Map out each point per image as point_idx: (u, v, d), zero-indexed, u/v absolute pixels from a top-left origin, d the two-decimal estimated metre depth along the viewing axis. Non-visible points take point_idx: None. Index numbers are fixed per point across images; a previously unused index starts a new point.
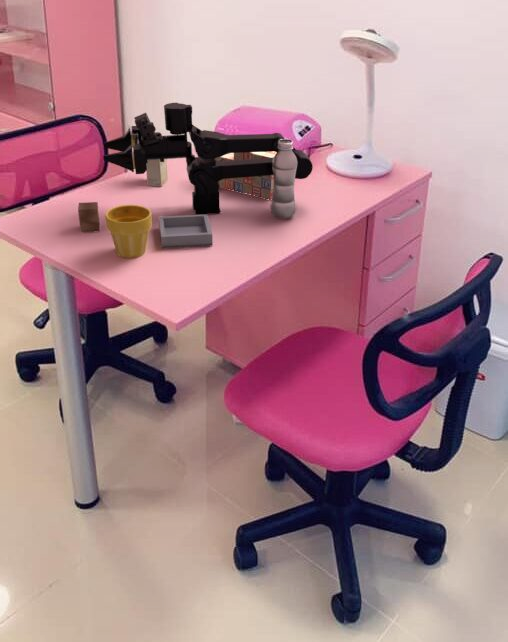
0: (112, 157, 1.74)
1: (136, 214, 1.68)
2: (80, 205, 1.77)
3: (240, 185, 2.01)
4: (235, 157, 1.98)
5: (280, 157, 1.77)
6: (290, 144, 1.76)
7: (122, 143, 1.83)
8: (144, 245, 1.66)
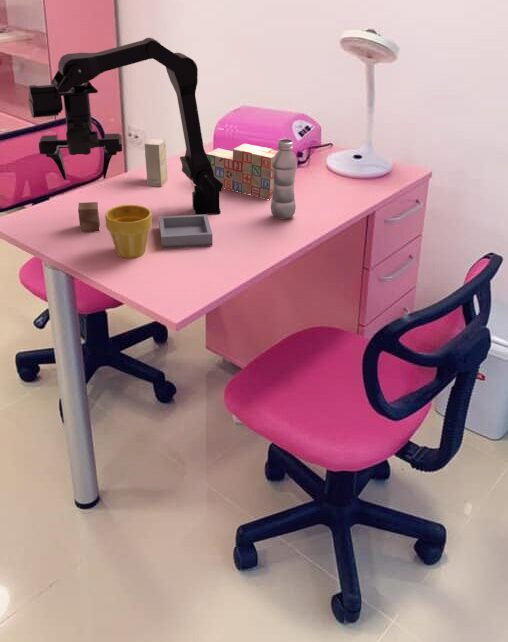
0: (106, 169, 1.73)
1: (136, 214, 1.68)
2: (80, 205, 1.77)
3: (240, 185, 2.01)
4: (234, 157, 1.98)
5: (280, 156, 1.77)
6: (290, 143, 1.76)
7: (61, 160, 1.70)
8: (144, 245, 1.66)
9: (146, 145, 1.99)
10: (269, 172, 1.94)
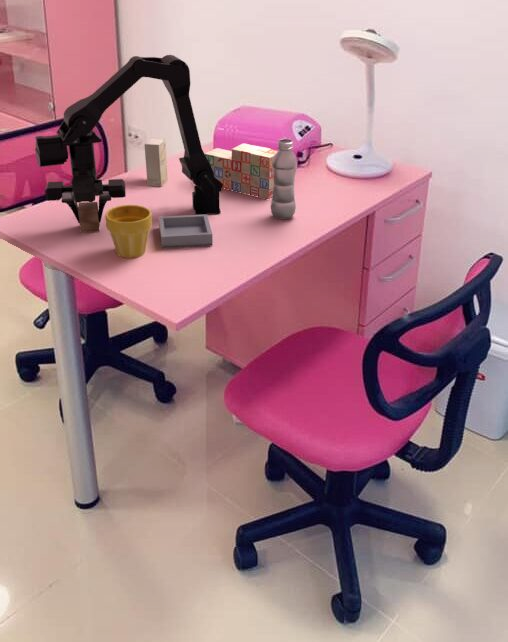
0: (101, 213, 1.78)
1: (136, 214, 1.68)
2: (80, 205, 1.77)
3: (238, 185, 2.01)
4: (233, 157, 1.98)
5: (280, 156, 1.77)
6: (290, 143, 1.76)
7: (76, 205, 1.76)
8: (144, 245, 1.66)
9: (146, 145, 1.99)
10: (268, 172, 1.94)
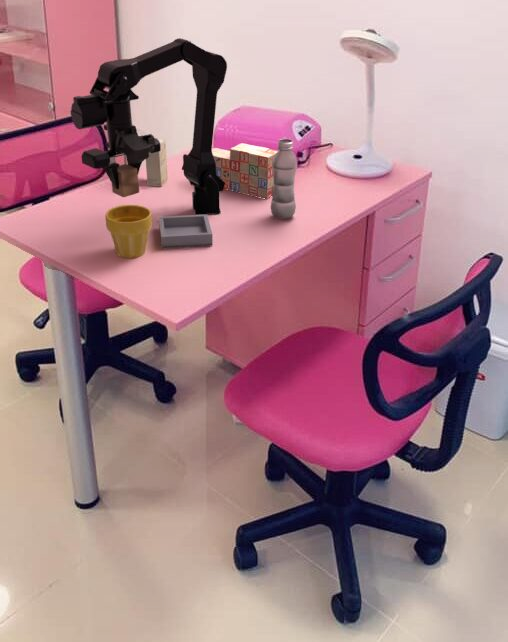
0: None
1: (136, 214, 1.68)
2: None
3: (237, 185, 2.01)
4: (231, 157, 1.98)
5: (280, 156, 1.77)
6: (290, 143, 1.76)
7: None
8: (144, 245, 1.66)
9: None
10: (266, 172, 1.94)
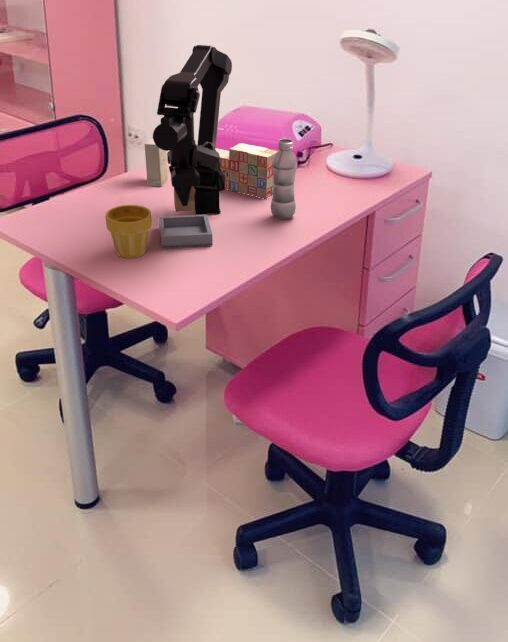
0: None
1: (136, 214, 1.68)
2: None
3: (236, 184, 2.01)
4: (230, 156, 1.98)
5: (280, 156, 1.77)
6: (290, 143, 1.76)
7: None
8: (144, 245, 1.66)
9: (146, 145, 1.99)
10: (265, 171, 1.94)
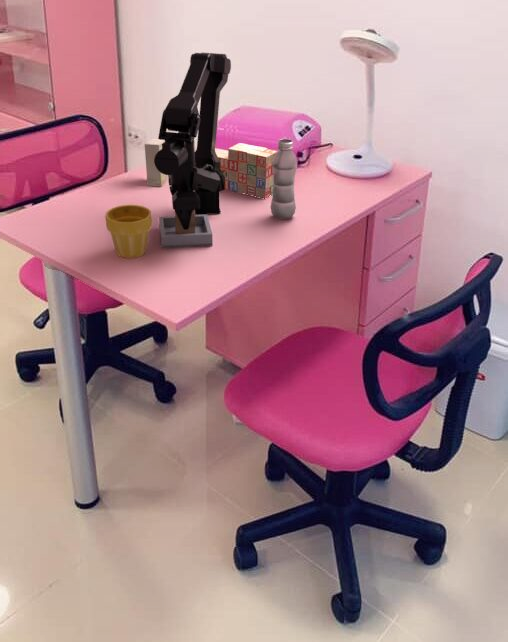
0: None
1: (136, 214, 1.68)
2: None
3: (235, 184, 2.01)
4: (230, 156, 1.98)
5: (280, 156, 1.77)
6: (290, 143, 1.76)
7: None
8: (144, 245, 1.66)
9: (146, 145, 1.99)
10: (264, 171, 1.94)
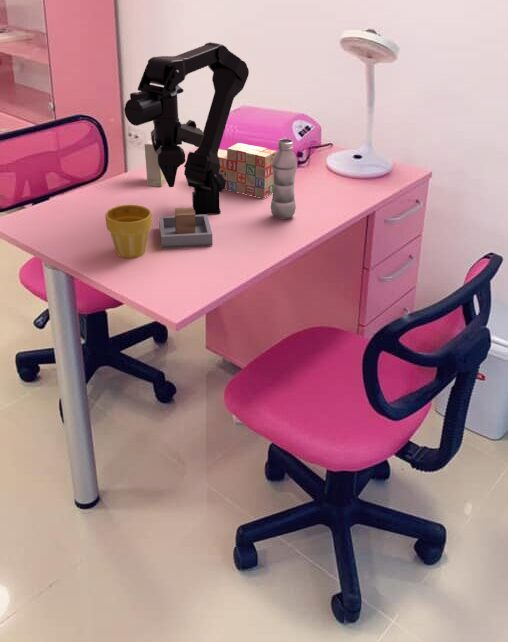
0: None
1: (136, 214, 1.68)
2: (183, 214, 1.71)
3: (234, 184, 2.01)
4: (228, 156, 1.98)
5: (280, 156, 1.77)
6: (290, 143, 1.76)
7: None
8: (144, 245, 1.66)
9: (146, 145, 1.99)
10: (263, 171, 1.94)
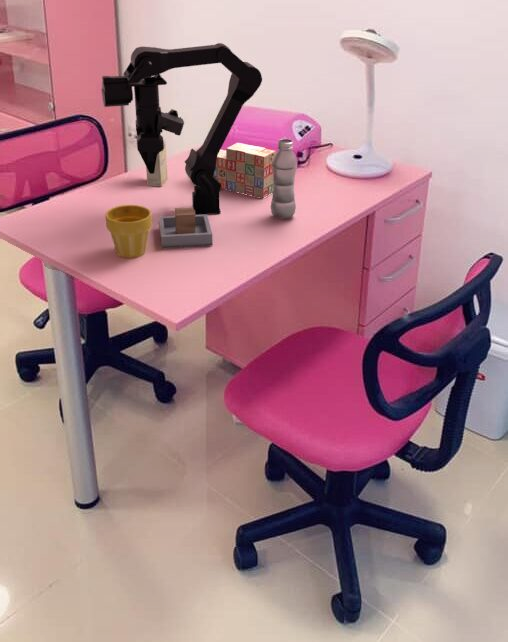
0: None
1: (136, 214, 1.68)
2: (183, 214, 1.71)
3: (233, 184, 2.02)
4: (228, 156, 1.98)
5: (280, 156, 1.77)
6: (290, 143, 1.76)
7: None
8: (144, 245, 1.66)
9: None
10: (262, 171, 1.94)
